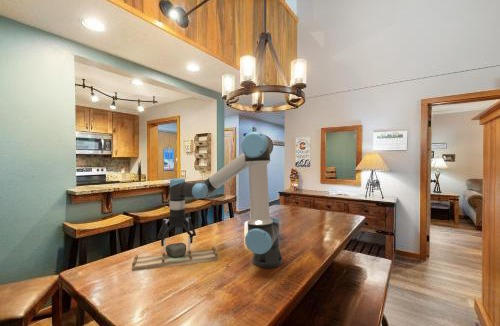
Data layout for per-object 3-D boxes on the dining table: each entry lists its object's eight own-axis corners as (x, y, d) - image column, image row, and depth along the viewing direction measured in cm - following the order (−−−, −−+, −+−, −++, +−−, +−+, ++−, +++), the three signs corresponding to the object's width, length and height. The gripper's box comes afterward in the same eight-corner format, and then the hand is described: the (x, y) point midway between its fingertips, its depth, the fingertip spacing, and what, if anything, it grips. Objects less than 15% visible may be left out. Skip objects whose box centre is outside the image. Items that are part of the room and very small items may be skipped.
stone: (180, 249, 131) (183, 235, 127) (185, 261, 124) (188, 247, 120) (164, 252, 125) (166, 238, 122) (168, 266, 119) (171, 251, 115)
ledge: (217, 260, 122) (217, 253, 122) (132, 271, 109) (132, 263, 109) (214, 252, 132) (214, 246, 132) (135, 261, 120) (135, 254, 120)
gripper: (200, 206, 128) (199, 246, 128) (152, 208, 121) (152, 250, 121) (201, 208, 121) (201, 250, 121) (151, 211, 113) (151, 256, 113)
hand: (177, 250), depth 121 cm, fingers open, 11 cm apart
